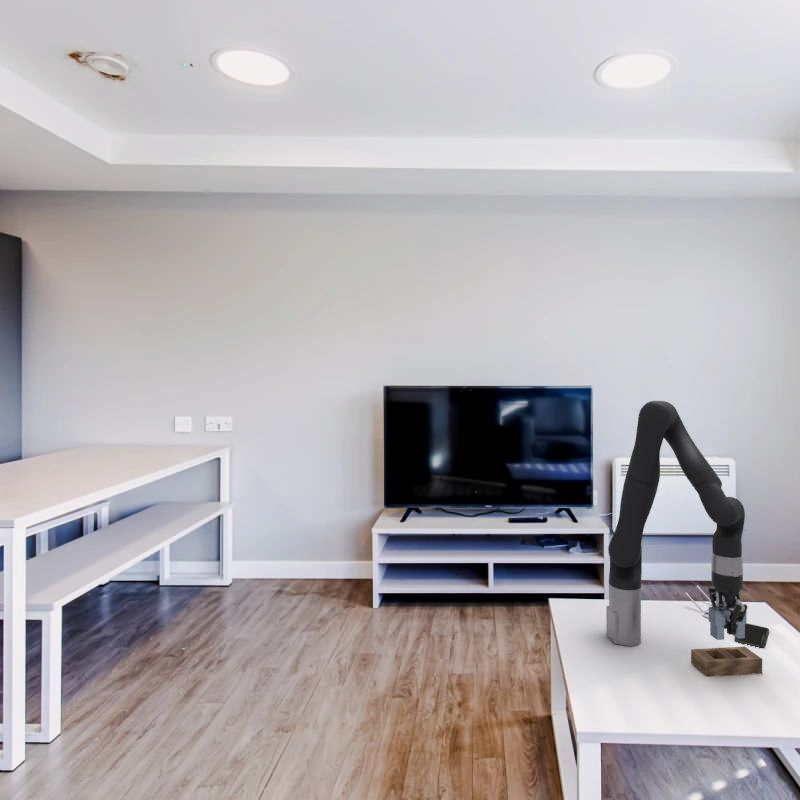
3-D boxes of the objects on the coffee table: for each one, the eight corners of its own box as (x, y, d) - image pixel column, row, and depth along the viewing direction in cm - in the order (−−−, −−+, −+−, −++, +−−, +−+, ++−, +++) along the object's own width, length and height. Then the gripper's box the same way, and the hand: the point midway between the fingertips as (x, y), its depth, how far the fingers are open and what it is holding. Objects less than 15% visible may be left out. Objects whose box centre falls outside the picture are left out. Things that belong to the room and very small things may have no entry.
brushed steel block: (715, 640, 155) (715, 611, 154) (708, 635, 158) (708, 607, 157) (746, 637, 155) (746, 609, 155) (739, 633, 158) (739, 605, 158)
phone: (733, 639, 172) (741, 621, 183) (733, 643, 172) (741, 625, 183) (764, 647, 167) (769, 628, 178) (764, 650, 167) (769, 631, 179)
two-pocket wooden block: (706, 676, 153) (706, 661, 153) (691, 663, 160) (691, 649, 160) (762, 673, 154) (762, 659, 154) (744, 660, 161) (745, 646, 161)
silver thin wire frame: (722, 623, 184) (722, 606, 184) (680, 610, 195) (680, 594, 195) (741, 610, 194) (741, 594, 194) (700, 598, 205) (700, 583, 204)
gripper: (698, 562, 162) (699, 621, 163) (730, 579, 148) (731, 643, 149) (723, 561, 163) (723, 619, 164) (757, 578, 149) (757, 642, 150)
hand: (727, 630), depth 156 cm, fingers closed on brushed steel block, 3 cm apart
